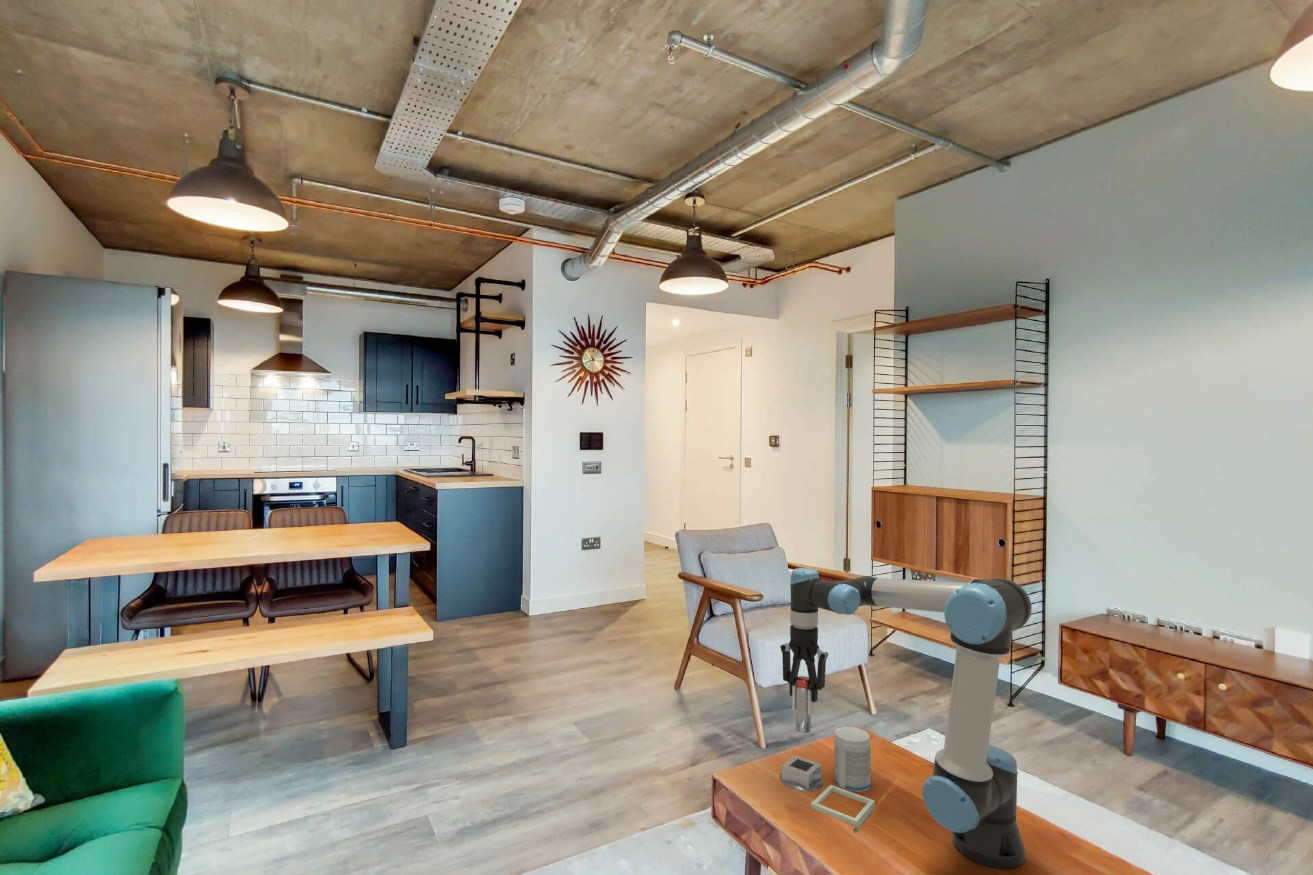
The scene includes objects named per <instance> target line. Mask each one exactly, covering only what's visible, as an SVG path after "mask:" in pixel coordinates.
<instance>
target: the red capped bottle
mask: <svg viewBox="0 0 1313 875" xmlns="http://www.w3.org/2000/svg"><path fill="white" fill-rule="evenodd" d="M809 689H810V682H809V676H806V675H805V676H804V675H799V676H798V677H796V710H795V731H797V732H798V733H802V734H808V733H810V732H811V729H812V728H811V725H812V723H811V720H812V719H811V718H812V717H811V716H812V714H811V715H810V714H808V690H809Z"/></svg>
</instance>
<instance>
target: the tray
mask: <svg viewBox="0 0 1313 875" xmlns="http://www.w3.org/2000/svg"><path fill="white" fill-rule="evenodd" d="M831 793H836V794H838V795H842V796H844V797H847V798H850V799H853V800H854V801H857V802H860V803H863V804H865V805H864V806H863V807H862V809H861V810H860V811H859V813H857V815H856V816H855V817H853V816H851V815H847V814H845V813H842V812H840V811H837V810H834V809H831V808H829V807H826V806H824V805H821V803H822V802H824V800H825V799H827V797H828V796H830V795H831ZM875 804H876V801H875V800H873V799H871V798H869V797H866V796H863V795H860V794H857V793H854V792H853V791H850V790H847V789H844V788H842V787H840V786H836V785H832V784H830V785H829V786H827V788H825V789H824V790H823V791H822V792H821V793H820V794H819V795H818V796H817V797H816V798H815V799H814V800H813V801H812V802H811V804H810V808H811V809H814V810H817V811H818V812H821V813H823V814H826V815H828V816H831V817H834V818H837V819H839V820H841V821H843V822H846V823H849V824H852V825H854V826H855V828H854V829H853V831H854V832H858V831H859V830H860V829H861V827H862V826H863V825H864V824H865V823H866V821H867V820H868V819H869V818H870V817H871V815H872V814H873V813H874V811H876V810H875V809H876V808H875V807H876V805H875Z"/></svg>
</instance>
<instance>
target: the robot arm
mask: <svg viewBox="0 0 1313 875" xmlns="http://www.w3.org/2000/svg"><path fill="white" fill-rule="evenodd" d="M789 586H790V587H789V588H790V619H789V620H790V621H789V623H790V624H791V625H790V626H789V627H790V628H789V630H790V631H789V633H790V634H789V638H790V641H789V642H788V643H787V642H785V643H783V644H781V645H780V647H779V648H780V650H781V654H782V658H781V659H782V680H783V681H784V682H787V683H788V684H789V696H790V697H791V698H792V699H791V709H792V710H793V711H796V677H798V675H799V670H800V668H801V667H800V666H801V662H802V660H803V661H804V662H805V663H804V664H805V665H806V669H807V675H808V676H807V677H809V682H810V689H809V690H808V714H810V715H811V716H812V714H813V713H814V712H815V708H816V707H815V706H816V705H815V704H816V702H817V701H818V699H819V698H818V696H819V695H818V693H819V691H820V690H822V689H823V688H825V686H826V666H827V659H828V656H829V653H828V652H827V651H823V650H821V649H820V647H819V645H818V641H819V628H818V626H819V609H821V610H826V611H830V612H833V613H836V614H839V615H848V616H849V615H850V616H851V615H854V614H855V612H856V611H857V610H858V609H859V607H864V606H870V607H883V608H894V609H902V610H904V609H905V610H914V611H921V612H922V611H923V612H926V611H927V612H935V613H944V620H945V623H946V625H947V626H948V628H949V631H950V636H949V637H950V638H949V639H950V642H951V643H952V644H953V645H954V646H955V648H956V652H955V657H954V658H955V659H954V667H953V675H952V683H951V690H950V699H949V706H948V714H947V721H946V730H945V738H944V746H943V748H942V749H940V750H938V751H936V753H935V756H934V762H933V763H934V765H933V772H932V775H930V776H928V777H927V778H926V780H925V781H924V782H923V785H922V788H921V790H922V791H921V795H922V796H921V797H922V799H923V800H922V801H923V804H924V805H925V808H926V809H927V810H928V811H929V813H930V816H931V818H933V819H934V820H935V821H936V823H938V824H939V825H940V826H941V827H943V828H944V829H946V830H949V831H950V832H952V833H951V836H952V837H951V840H952V843H953V846H954V847H955V848H956V849H957V850H958V851H959V852H960V853H961V854H962V855H964V856H966V857H967V858H968V859H970V860H972V861H974V862H976V863H979V864H981V865H985V866H988V867H991V868H996V869H998V868H999V869H1014V868H1018V867H1020V866H1021V865H1023V864H1024V862H1025V858H1026V857H1025V852H1026V851H1025V850H1026V849H1025V843H1024V840H1023V838H1022V835H1021V831H1020V829H1019V826H1018V822H1017V809H1018V808H1017V807H1018V806H1017V805H1018V804H1017V802H1018V797H1017V796H1018V774H1019V772H1018V766H1017V765H1018V763H1017V760H1016V758H1015V757H1014V755H1012V754H1011V753H1009V752H1008V751H1006V750H1005V749H1002V748H999V747H997V746H995V745H990V739H991V731H992V725H993V724H992V723H993V715H994V709H995V703H996V702H995V700H996V693H997V684H998V679H999V678H998V677H999V672H1000V663H1001V659H1002V658H1003V657H1006V656H1007V655H1009V654H1010V650H1011V643H1012V636H1013V635H1012V634H1013V632H1014V631H1017V630H1019V629H1020V628H1022V627H1024V626H1025V625H1026V624H1027V623H1028V622H1029V619H1030V617H1031V614H1032V609H1033V608H1032V602H1031V599H1030V596H1029V594H1028V593H1027V591H1026V590H1025V589H1024V588H1023V587H1022V586H1021V585H1020V584H1018V583H1017V582H1015V581H1014V580H1010V579H1006V578H991V579H989V578H988V579H984V578H982V579H981V578H973V579H971V580H970V581H969V582H959V581H958V582H955V581H954V582H953V581H938V580H936V581H935V580H917V579H903V578H901V579H900V578H883V577H876V576H875V575H862V576H859V577H855V578H851V579H850V578H848V579H844V580H839V581H829V580H825V579H824V580H823V579H820V576H819V572H818V570H816V569H815V568H814V569H813V568H809V567H808V568H807V567H806V568H805V567H799V568H798V567H797V568H794V569H793V570H791V574H790V583H789ZM791 652H792V654H793V656H792V663H791ZM816 655H817V659H818V660H817V668H816V664H815V662H816V660H815V658H816V657H815V656H816ZM816 669H817V670H816Z"/></svg>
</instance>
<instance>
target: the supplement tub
mask: <svg viewBox="0 0 1313 875" xmlns="http://www.w3.org/2000/svg"><path fill="white" fill-rule="evenodd" d="M833 740H834V747H833V748H834V754H833V755H834V782H835V784H836V785H837V786H838V787H839V788H841V789H844V790H847V791H849V792H866V791H868V790H869V789H871V786H872V784H871V782H872V780H871V774H872V772H871V771H872V768H871V767H872V766H871V764H872V762H871V761H872V759H871V754H872V753H871V752H872V751H871V750H872V748H871V746H872V744H871V737H870V733H868V732H867V731H866V730H864V729H861V728H858V727H853V726H842V727H838V728H837V729H836V730H835V731H834V739H833Z"/></svg>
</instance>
